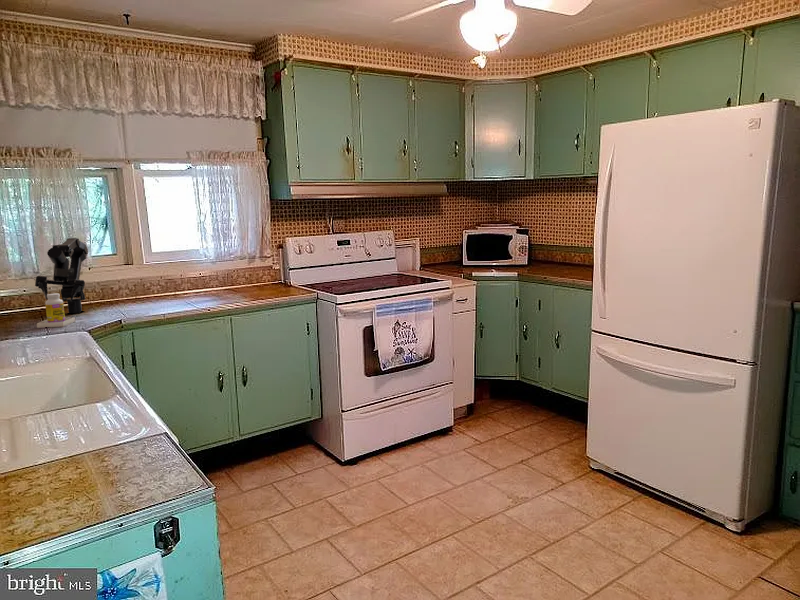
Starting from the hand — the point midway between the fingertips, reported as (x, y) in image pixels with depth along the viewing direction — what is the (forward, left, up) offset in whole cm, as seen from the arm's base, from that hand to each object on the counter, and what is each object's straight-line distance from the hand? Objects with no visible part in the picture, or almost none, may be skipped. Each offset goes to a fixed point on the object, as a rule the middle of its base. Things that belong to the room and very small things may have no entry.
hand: (58, 300), depth 252 cm
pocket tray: (+9, +2, -9) cm, 13 cm away
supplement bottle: (+8, +2, -9) cm, 13 cm away
